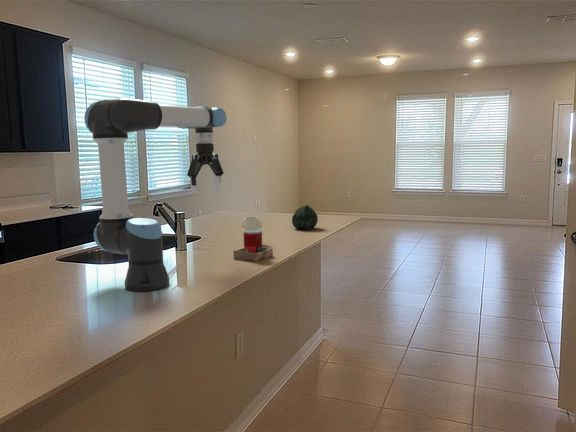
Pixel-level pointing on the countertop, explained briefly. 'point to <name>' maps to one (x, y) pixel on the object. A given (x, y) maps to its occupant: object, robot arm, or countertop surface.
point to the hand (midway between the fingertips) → (206, 191)
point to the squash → (304, 218)
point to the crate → (253, 254)
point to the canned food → (252, 241)
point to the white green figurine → (251, 223)
